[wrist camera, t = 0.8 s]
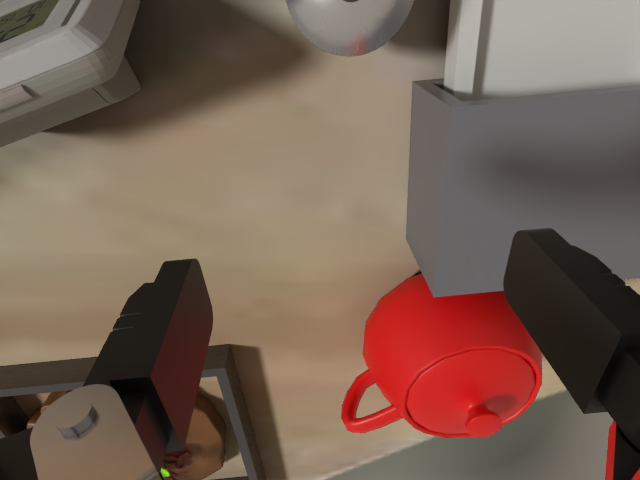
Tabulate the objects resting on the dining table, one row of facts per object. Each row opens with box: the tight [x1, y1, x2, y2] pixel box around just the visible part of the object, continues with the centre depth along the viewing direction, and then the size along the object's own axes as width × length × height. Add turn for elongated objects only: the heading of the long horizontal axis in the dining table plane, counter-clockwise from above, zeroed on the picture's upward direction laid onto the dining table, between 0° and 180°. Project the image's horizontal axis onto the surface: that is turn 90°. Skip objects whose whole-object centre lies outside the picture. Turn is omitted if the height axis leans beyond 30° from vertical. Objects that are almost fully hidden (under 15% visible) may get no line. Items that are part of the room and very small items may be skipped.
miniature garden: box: [27, 390, 226, 480], centre depth 42 cm, size 20×20×11 cm
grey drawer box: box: [443, 0, 640, 102], centre depth 23 cm, size 13×15×6 cm
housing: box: [406, 79, 640, 297], centre depth 28 cm, size 13×18×8 cm
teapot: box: [341, 274, 542, 438], centre depth 34 cm, size 25×16×12 cm, turn 124°
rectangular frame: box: [0, 344, 266, 480], centre depth 45 cm, size 25×25×3 cm
